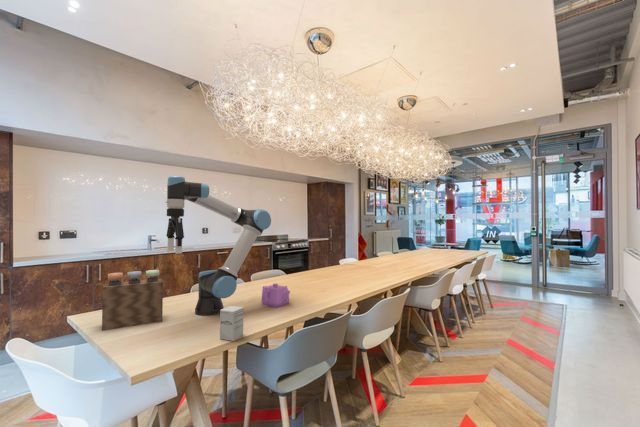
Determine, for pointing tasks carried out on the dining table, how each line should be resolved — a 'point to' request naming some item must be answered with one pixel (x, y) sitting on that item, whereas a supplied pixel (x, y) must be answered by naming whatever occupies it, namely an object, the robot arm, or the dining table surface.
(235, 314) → the supplement box
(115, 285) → the button console
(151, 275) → the sage button
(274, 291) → the teakettle
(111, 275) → the terracotta button
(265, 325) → the dining table surface
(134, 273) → the slate button
